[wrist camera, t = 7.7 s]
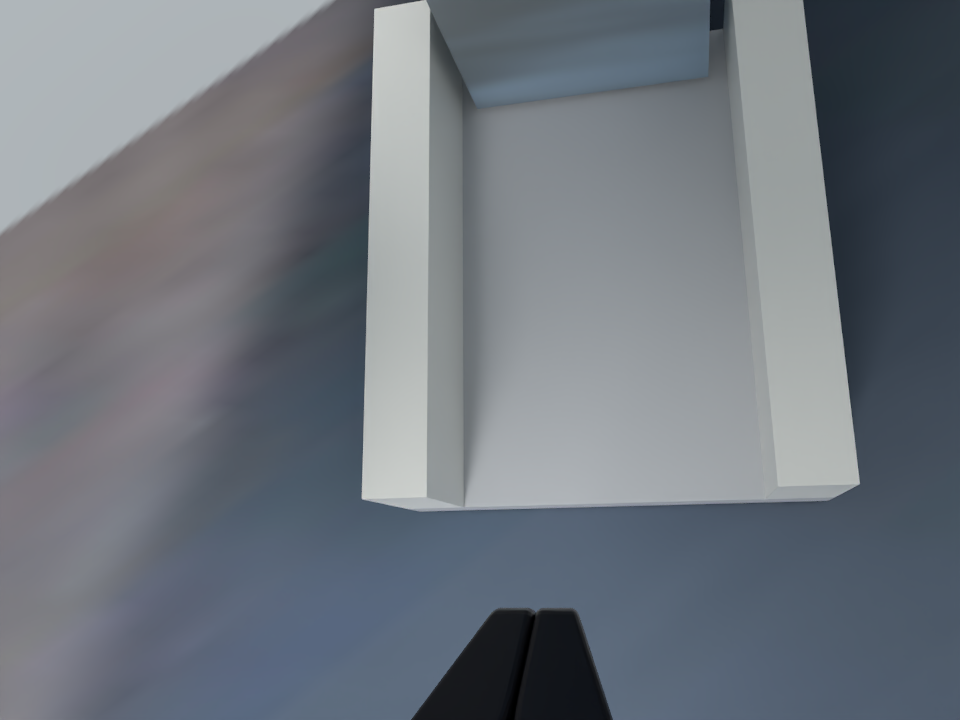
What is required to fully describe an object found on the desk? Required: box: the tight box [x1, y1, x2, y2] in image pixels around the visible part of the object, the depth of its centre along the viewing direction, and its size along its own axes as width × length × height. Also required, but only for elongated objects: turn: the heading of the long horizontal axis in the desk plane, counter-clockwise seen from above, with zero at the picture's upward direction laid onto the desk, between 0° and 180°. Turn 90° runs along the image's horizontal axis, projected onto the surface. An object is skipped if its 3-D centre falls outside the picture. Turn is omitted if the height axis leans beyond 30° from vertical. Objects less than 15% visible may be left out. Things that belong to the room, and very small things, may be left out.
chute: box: [362, 0, 860, 511], centre depth 17 cm, size 10×8×3 cm
